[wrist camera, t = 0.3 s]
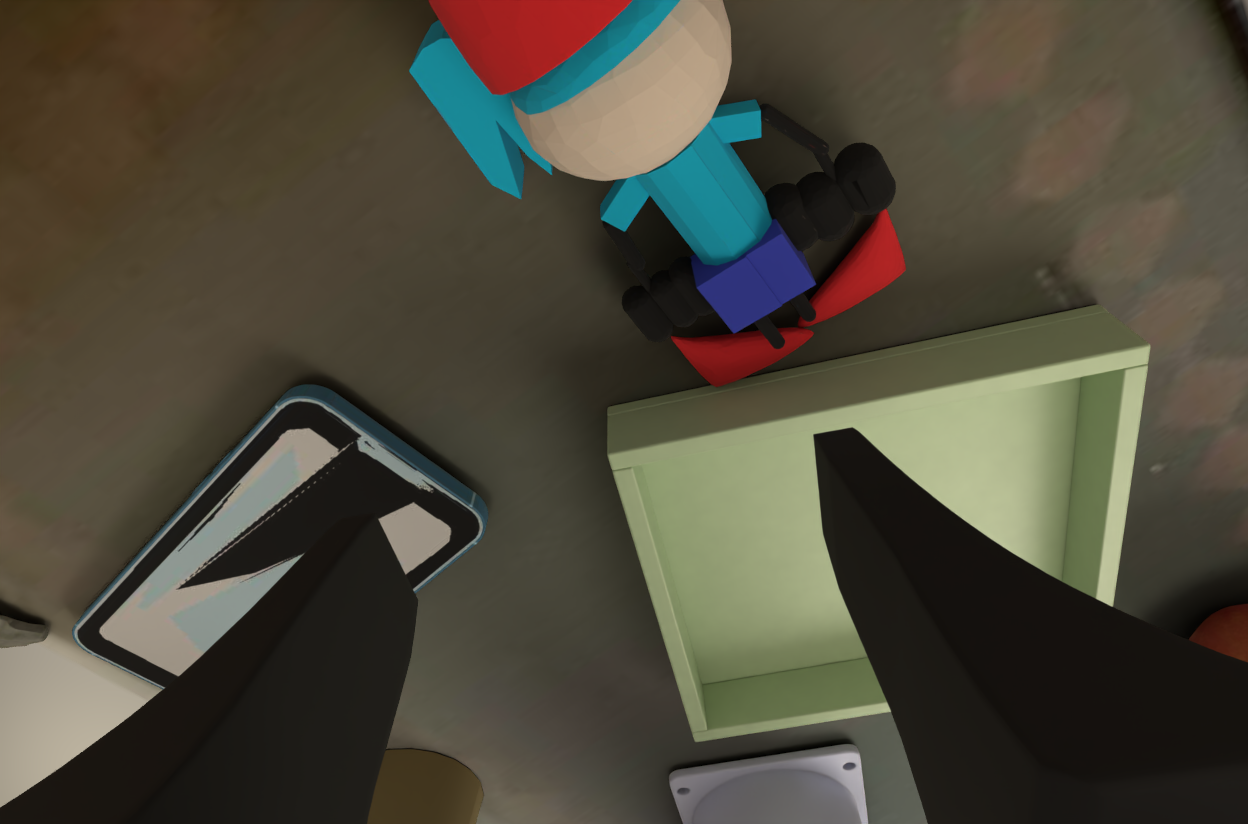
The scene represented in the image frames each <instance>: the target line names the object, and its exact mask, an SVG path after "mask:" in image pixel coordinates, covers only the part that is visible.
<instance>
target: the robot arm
mask: <svg viewBox="0 0 1248 824" xmlns="http://www.w3.org/2000/svg"><path fill="white" fill-rule="evenodd" d="M813 438H814V448H815V459H816V469H817V479H818V490H819V500H820V510H821V521H822V531H823V536H824V539H825V543H826V546H827V550H828V553H829V557H830V560H831V564H832V567H833V571H834V574H835V577H836V581H837V584H838V587H839V590H840V593H841V595H842V597H843V600H844V602H845V605H846V607H847V609H848V612H849V614H850V616H851V619H852V621H853V624H854V626H855V628H856V631H857V633H858V635H859V638H860V640H861V642H862V645H863V647H864V649H865V652H866V654H867V656H868V659H869V661H870V663H871V666H872V668H873V670H874V673H875V675H876V677H877V680H878V682H879V685H880V687H881V689H882V692H883V694H884V696H885V699H886V701H887V703H888V706H889V708H890V710H891V713H892V715H893V718H894V721H895V723H896V726H897V729H898V731H899V734H900V737H901V739H902V742H903V745H904V748H905V752H906V755H907V758H908V761H909V764H910V767H911V771H912V774H913V777H914V780H915V783H916V786H917V790H918V793H919V796H920V799H921V802H922V806H923V809H924V812H925V815H926V819H927V822H928V824H1248V662H1245V661H1242V660H1240V659H1237V658H1234V657H1231V656H1228V655H1225V654H1222V653H1220V652H1217V651H1215V650H1212V649H1209V648H1207V647H1204V646H1202V645H1200V644H1197V643H1195V642H1192V641H1190V640H1187V639H1185V638H1182V637H1180V636H1178V635H1175V634H1173V633H1170V632H1168V631H1165V630H1163V629H1160V628H1158V627H1156V626H1153V625H1151V624H1149V623H1147V622H1145V621H1142V620H1140V619H1138V618H1136V617H1133V616H1131V615H1129V614H1127V613H1124V612H1122V611H1120V610H1118V609H1116V608H1114V607H1112V606H1110V605H1108V604H1106V603H1104V602H1102V601H1100V600H1098V599H1096V598H1094V597H1092V596H1090V595H1088V594H1086V593H1084V592H1081V591H1079V590H1077V589H1075V588H1073V587H1072V586H1070V585H1068V584H1066V583H1064V582H1062V581H1060V580H1058V579H1057V578H1055V577H1053V576H1051V575H1049V574H1047V573H1046V572H1044V571H1042V570H1041V569H1039V568H1037V567H1035V566H1034V565H1032V564H1030V563H1029V562H1027V561H1025V560H1024V559H1022V558H1020V557H1019V556H1017V555H1015V554H1013V553H1012V552H1010V551H1009V550H1007V549H1006V548H1004V547H1003V546H1001V545H999V544H998V543H996V542H995V541H993V540H992V539H990V538H989V537H988V536H986V535H985V534H983V533H982V532H980V531H979V530H978V529H976V528H975V527H973V526H972V525H970V524H969V523H968V522H966V521H965V520H963V519H962V518H961V517H959V516H958V515H957V514H955V513H954V512H953V511H951V510H950V509H949V508H947V507H946V506H945V505H943V504H942V503H941V502H940V501H938V500H937V499H936V498H935V497H933V496H932V495H931V494H930V493H928V492H927V491H926V490H925V489H923V488H922V487H921V486H920V485H918V484H917V483H916V482H915V481H914V480H912V479H911V478H910V477H909V476H908V475H906V474H905V473H904V472H903V471H902V470H901V469H900V468H898V467H897V466H896V465H895V464H894V463H893V462H892V461H890V460H889V459H888V458H887V457H886V456H885V455H884V454H883V453H882V452H880V451H879V450H878V449H877V448H876V447H875V446H874V445H873V444H872V443H871V442H870V441H869V440H868V439H867V438H866V437H865V436H863V435H862V434H861V433H860V432H859V431H858V430H856V429H855V428H853V427H851V428H845V429H840V430H834V431H828V432H823V433H817V434H813ZM417 606H418V599H417V597H416V595H415V593H414V591H413V589H412V587H411V584H410V582H409V580H408V578H407V576H406V574H405V572H404V570H403V568H402V566H401V564H400V562H399V560H398V558H397V556H396V554H395V552H394V550H393V548H392V546H391V544H390V542H389V540H388V538H387V536H386V534H385V532H384V530H383V528H382V526H381V524H380V522H379V520H378V517H377V515H376V513H369V514H364V515H358V516H353V517H347V518H341V519H339V520H338V521H337V522H336V523H335V524H334V525H333V526H332V527H330V528H329V529H328V530H327V531H326V532H325V533H324V534H323V535H322V536H321V537H320V538H319V539H318V540H317V541H316V542H315V543H314V544H313V545H312V546H311V547H310V548H309V549H308V550H307V551H306V552H305V553H304V554H303V555H302V556H301V557H300V559H299V560H298V561H297V562H296V563H295V564H294V565H293V566H292V567H291V568H290V569H289V570H288V571H287V572H286V573H285V574H284V575H283V576H282V577H281V578H280V579H279V580H278V581H277V582H276V583H275V584H274V585H273V586H272V587H271V588H270V589H269V590H268V591H267V592H266V594H265V595H264V596H263V597H262V598H261V599H260V600H259V601H258V602H257V603H256V604H255V605H254V606H253V607H252V608H251V609H250V610H249V611H248V612H247V613H246V614H245V615H244V616H243V617H242V618H241V619H239V620H238V621H237V622H236V623H235V624H234V625H233V626H232V627H231V628H230V629H229V630H228V631H227V632H226V633H225V634H224V635H223V636H222V637H221V638H220V639H219V640H217V641H216V642H215V643H214V644H213V645H212V646H211V647H210V648H209V649H208V650H207V651H206V652H205V653H204V654H203V655H202V656H201V657H200V658H199V659H197V660H196V661H195V662H194V663H193V664H192V665H191V666H190V667H189V668H187V669H186V670H185V671H184V672H183V673H182V674H181V675H179V676H178V677H177V678H176V679H175V680H174V681H172V682H171V683H170V684H169V685H168V686H167V687H165V688H164V689H163V690H162V691H161V692H159V693H158V694H157V695H156V696H154V697H153V698H152V699H151V700H150V701H148V702H147V703H146V704H145V705H144V706H142V707H141V708H140V709H139V710H138V711H136V712H135V713H134V714H132V715H131V716H130V717H129V718H127V719H126V720H125V721H124V722H122V723H121V724H119V725H118V726H117V727H115V728H114V729H113V730H111V731H110V732H108V733H107V734H106V735H104V736H103V737H102V738H100V739H99V740H98V741H96V742H95V743H94V744H92V745H91V746H89V747H88V748H87V749H85V750H84V751H83V752H81V753H80V754H79V755H77V756H76V757H74V758H73V759H72V760H70V761H69V762H68V763H66V764H65V765H64V766H62V767H61V768H59V769H58V770H56V771H55V772H54V773H52V774H51V775H49V776H48V777H46V778H45V779H43V780H42V781H40V782H39V783H37V784H36V785H34V786H33V787H31V788H30V789H28V790H27V791H25V792H24V793H22V794H21V795H19V796H18V797H16V798H15V799H13V800H11V801H10V802H8V803H7V804H5V805H4V806H2V807H0V824H367V822H368V816H369V811H370V807H371V803H372V799H373V794H374V790H375V786H376V782H377V779H378V775H379V771H380V768H381V764H382V761H383V757H384V753H385V750H386V746H387V743H388V739H389V736H390V732H391V728H392V725H393V721H394V718H395V714H396V711H397V707H398V703H399V700H400V696H401V692H402V689H403V685H404V681H405V677H406V674H407V670H408V666H409V662H410V658H411V653H412V646H413V639H414V632H415V624H416V615H417ZM669 784H670V788H671V791H672V794H673V796H674V799H675V802H676V805H677V808H678V811H679V814H680V816H681V819H682V822H683V824H868V817H867V809H866V801H865V792H864V784H863V776H862V767H861V759H860V754H859V751H858V748H857V747H856V746H855V745H852V744H841V745H835V746H828V747H822V748H815V749H809V750H802V751H796V752H789V753H783V754H776V755H770V756H763V757H757V758H750V759H744V760H737V761H731V762H724V763H718V764H711V765H705V766H698V767H692V768H685V769H679V770H675V771H673V772H672V773H671V774H670V775H669Z"/></svg>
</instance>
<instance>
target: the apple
mask: <svg viewBox="0 0 1248 824" xmlns="http://www.w3.org/2000/svg"><path fill="white" fill-rule="evenodd" d="M1189 640H1190V641H1192V642H1195V643H1197V644H1200V645H1202V646H1204V647H1207V648H1209V649H1212V650H1215V651H1217V652H1220V653H1222V654H1225V655H1228V656H1231V657H1234V658H1237V659H1240V660H1242V661H1245V662H1248V604H1240V605H1233V606H1229V607H1226V608H1223V609H1220V610H1218V611H1217V612H1215V613H1213V614H1211V615H1210V616H1209V617H1208V618H1207V619H1205V620H1204V621H1203V622H1202V624H1201V625H1200V626H1199V627H1198V628H1197V629H1196V630H1195V632H1194V633H1193V634H1192V635H1191V637H1190V638H1189Z"/></svg>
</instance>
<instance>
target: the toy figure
mask: <svg viewBox="0 0 1248 824" xmlns="http://www.w3.org/2000/svg"><path fill="white" fill-rule="evenodd" d="M428 1H429V3H430V5H431V7H432V9H433V10H434V12H435V14H436V15H437V17H438V19H439V20H438V21H436V22H435V23H433V24H432V25H431V27H430V28H429V30H428V32H427V34H426V36H425V38H424V39H423V41H422V43H421V45H420V47H419V50H418V52H417V54H416V56H415V59H414V61H413V63H412V65H411V68H410V70H409V72H410V73H411V75H412V76H413V77H414V79H415V80H416V82H417V83H418V84H419V86H420V87H421V88H422V90H423V91H424V93H425V94H426V95H427V97H428V98H429V99H430V101H431V102H432V104H433V105H434V106H435V108H436V109H437V110H438V112H439V113H440V115H441V116H442V117H443V119H444V120H445V121H446V123H447V124H448V126H449V127H450V128H451V130H452V131H453V132H454V134H455V135H456V137H457V138H458V139H459V141H460V142H461V143H462V145H463V146H464V148H465V149H466V150H467V152H468V153H469V155H470V156H471V157H472V159H473V160H474V161H475V163H476V164H477V166H478V167H479V168H480V170H481V171H482V172H483V174H484V175H485V177H486V178H487V179H488V181H489V182H490V183H491V185H493V186H495V187H497V188H499V189H501V190H503V191H505V192H507V193H509V194H511V195H513V196H515V197H517V198H519V199H521V198H522V188H523V177H524V164H523V161H522V158H521V154H520V151H519V148H518V146H519V147H520V148H521V149H522V150H523V151H524V152H525V154H526V155H527V156H528V157H529V158H530V159H532V160H533V161H534V162H536V163H537V164H538V165H539V166H541V167H542V168H543V169H545V170H546V171H547V172H548V173H550V174H551V175H552V165H553V166H555V167H556V168H557V169H559V170H561V171H563V172H566V173H569V174H572V175H574V176H578V177H582V178H585V179H592V180H600V181H609V180H616V179H617V180H616V181H615V183H614V185H613V186H612V188H611V189H610V191H609V192H608V194H607V195H606V197H605V199H604V200H603V202H602V203H601V205H600V213H601V220H603V227H604V228H605V230H606V231H607V233H608V234H609V235H610V237H611V238H612V240H613V241H614V243H615V244H616V246H617V247H618V249H619V250H620V252H621V253H622V255H623V256H624V258H625V259H626V261H627V266H628V267H629V268H630V270H631V271H632V272H633V274H634V275H635V276H636V277H637V279H638V280H639V281H640V283H641V284H642V285H643V286H633V287H630V288H629V289H628V290H627V291H626V292H625V293H624V295H623V297H622V306H623V309H624V311H625V312H626V313H627V314H628V316H629V317H630V318H631V319H632V320H633V322H634V323H635V324H636V325H637V327H638V328H639V329H640V330H641V332H642V333H643V334H644V335H645V337H646V338H647V339H648V340H650V341H652V342H662V341H665V340H666V339H667V338H668V337H669V336H670V335H671V333H672V331H673V324H674V325H676V326H678V327H688V326H690V325H692V324H693V323H694V322H695V321H696V320H697V318H698V315H700V316H705V315H709V314H711V313H713V312H714V311H716V312H717V313H718V315H719V316H720V317H721V318H722V320H723V321H724V322H725V323H726V325H727V326H728V327H729V328H730V329H731V331H732V332H733V333H734V334H726V335H716V336H704V337H694V338H687V337H676V336H671V338H672V341H673V342H674V343H675V344H676V345H677V347H678V348H679V349H680V350H681V352H682V353H683V354H684V356H685V357H686V358H687V359H688V361H689V362H690V363H691V364H692V365H693V366H694V367H695V369H696V370H697V371H698V372H699V373H700V374H701V375H702V376H703V377H704V378H705V379H706V380H707V381H708V382H709V383H710V384H711V385H713V386H715V387H719V386H723V385H726V384H729V383H732V382H735V381H737V380H739V379H741V378H744V377H746V376H748V375H750V374H752V373H754V372H756V371H759V370H761V369H763V368H765V367H767V366H769V365H771V364H773V363H775V362H777V361H778V360H780V359H782V358H783V357H785V356H787V355H788V354H790V353H791V352H793V351H794V350H796V349H797V348H798V347H800V346H801V345H803V344H804V343H805V342H806V341H808V340H809V339H810V338H811V337H812V336H813V334H814V332H812V331H811V330H808V329H804V328H803V327H807V326H810V325H814V324H816V323H819V322H821V321H824V320H826V319H829V318H831V317H833V316H835V315H837V314H839V313H842V312H844V311H846V310H847V309H849V308H851V307H853V306H854V305H856V304H858V303H859V302H861V301H863V300H864V299H866V298H868V297H869V296H871V295H873V294H874V293H876V292H878V291H879V290H881V289H883V288H884V287H886V286H887V285H889V284H890V283H891V282H893V281H894V280H895V279H896V278H898V277H899V276H900V275H901V274H902V273H903V272H904V271H905V270H906V266H905V262H904V257H903V253H902V250H901V247H900V244H899V242H898V238H897V235H896V233H895V230H894V227H893V225H892V222H891V220H890V217H889V214H888V211H887V209H886V208H887V207H888V206H889V205H890V204H891V202H892V200H893V198H894V195H895V189H896V185H895V180H894V179H893V177H892V175H891V173H890V171H889V169H888V167H887V165H886V163H885V161H884V159H883V157H882V155H881V153H880V152H879V151H878V150H877V149H876V148H875V147H874V146H872V145H869V144H866V143H854V144H851V145H849V146H847V147H845V148H844V149H843V150H842V151H841V152H840V153H839V154H838V156H837V157H836V159H835V162H834V164H833V162H832V161H831V159H830V157H829V155H828V154H827V153H828V151H829V145H828V144H827V143H826V142H825V141H823V140H822V139H820V138H819V137H817V136H816V135H814V134H813V133H811V132H810V131H808V130H807V129H805V128H804V127H802V126H801V125H799V124H798V123H796V122H795V121H793V120H792V119H790V118H789V117H787V116H786V115H784V114H783V113H781V112H779V111H778V110H776V109H775V108H773V107H772V106H770V105H769V104H762V105H760V106H759V105H758V103H757V101H756V99H755V100H749V101H743V102H737V103H731V104H725V105H719V106H717V105H718V103H719V101H720V99H721V96H722V94H723V92H724V90H725V87H726V85H727V81H728V77H729V72H730V67H731V62H732V59H731V28H730V24H729V21H728V17H727V14H726V11H725V7H724V4H723V0H428ZM761 119H762V120H764V121H765V122H767V123H768V124H770V125H771V126H773V127H774V128H776V129H777V130H779V131H780V132H782V133H784V134H785V135H787V136H788V137H790V138H791V139H793V140H794V141H796V142H797V143H799V144H801V145H802V146H804V147H805V148H807V149H808V150H810V151H811V152H813V154H814V155H815V157H816V159H817V161H818V162H819V164H820V166H821V167H822V169H823V171H824V172H814V173H810V174H808V175H806V176H805V177H803V178H802V179H801V180H800V181H799V182H798V183H797V185H795V184H790V183H782V184H777V185H775V186H773V187H772V188H770V189H769V190H768V191H767V192H766V193H765V195H763V194H762V192H761V190H760V189H759V187H758V186H757V184H756V183H755V181H754V180H753V178H752V177H751V175H750V174H749V172H748V171H747V169H746V168H745V166H744V165H743V163H742V162H741V160H740V159H739V157H738V156H737V154H736V153H735V151H734V149H733V148H732V146H731V145H730V143H731V142H737V141H743V140H749V139H755V138H761ZM649 196H651V197H652V199H653V200H654V201H655V202H656V204H657V205H658V206H659V208H660V209H661V210H662V211H663V213H664V214H665V215H666V216H667V218H668V219H669V220H670V222H671V223H672V224H673V225H674V227H675V228H676V229H677V231H678V232H679V233H680V234H681V236H682V237H683V238H684V240H685V241H686V242H687V243H688V245H689V246H690V247H691V249H692V250H693V251H694V252H695V254H694V255H692V256H691V257H680V258H678V259H676V260H674V261H673V263H672V264H671V265H670V267H669V270H668V271H667V270H662V271H659V272H657V273H656V274H654V275H653V276H652V278H651V279H650V278H649V276H648V275H647V274H646V272H645V271H644V270H643V268H644V267H645V260H644V258H643V257H642V255H641V254H640V252H639V250H638V249H637V247H636V246H635V244H634V243H633V241H632V239H631V238H630V236H629V235H628V233H627V232H626V229H627V228H628V226H629V225H630V224H631V222H632V221H633V219H634V218H635V216H636V215H637V213H638V212H639V210H640V209H641V207H642V206H643V205H644V203H645V202H646V200H647V199H648V197H649ZM854 211H856V212H858V213H860V214H864V215H871V214H877V213H878V214H877V216H876V218H875V220H874V222H873V224H872V225H871V226H870V227H869V228H868V230H867V231H866V232H865V233H864V234H863V236H862V237H861V238H860V239H859V241H858V242H857V243H856V244H855V246H854V247H853V248H852V250H851V251H850V252H849V253H848V255H847V256H846V257H845V258H844V259H843V261H842V262H841V263H840V264H839V265H838V267H837V268H836V269H835V270H834V272H833V273H832V274H831V275H830V277H829V278H828V279H827V280H826V281H825V282H824V284H823V285H822V286H821V287H820V288H819V290H818V291H817V292H816V293H815V294H814V296H813V297H812V298H811V299H810V301H808V299H807V298H806V296H805V295H804V294H803V292H804V291H806V290H808V289H809V288H811V287H813V286H815V285H816V283H815V280H814V278H813V275H812V273H811V271H810V268H809V266H808V263H807V261H806V259H805V256H804V254H803V252H802V251H803V250H805V249H808V248H809V247H811V246H812V245H813V244H814V243H815V242H816V241H817V239H820V240H823V241H834V240H837V239H840V238H841V237H843V236H844V235H845V234H846V233H848V232H849V230H850V228H851V227H852V225H853V222H854ZM787 301H790V302H791V303H792V305H793V306H794V307H795V309H796V310H797V312H798V313H799V314H800V317H799V321H798V328H793V327H789V328H776V327H775V326H774V324H773V323H772V322H771V320H770V319H769V318H768V316H767V314H769V313H771V312H772V311H774V310H776V309H777V308H779V307H781V306H782V304H784V303H785V302H787ZM753 322H754V324H755V325H756V326H757V327H758V329H759V330H760V331H751V332H744V333H736V332H738V331H740V330H741V329H743V328H745V327H746V326H748V325H750V324H752V323H753Z"/></svg>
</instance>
